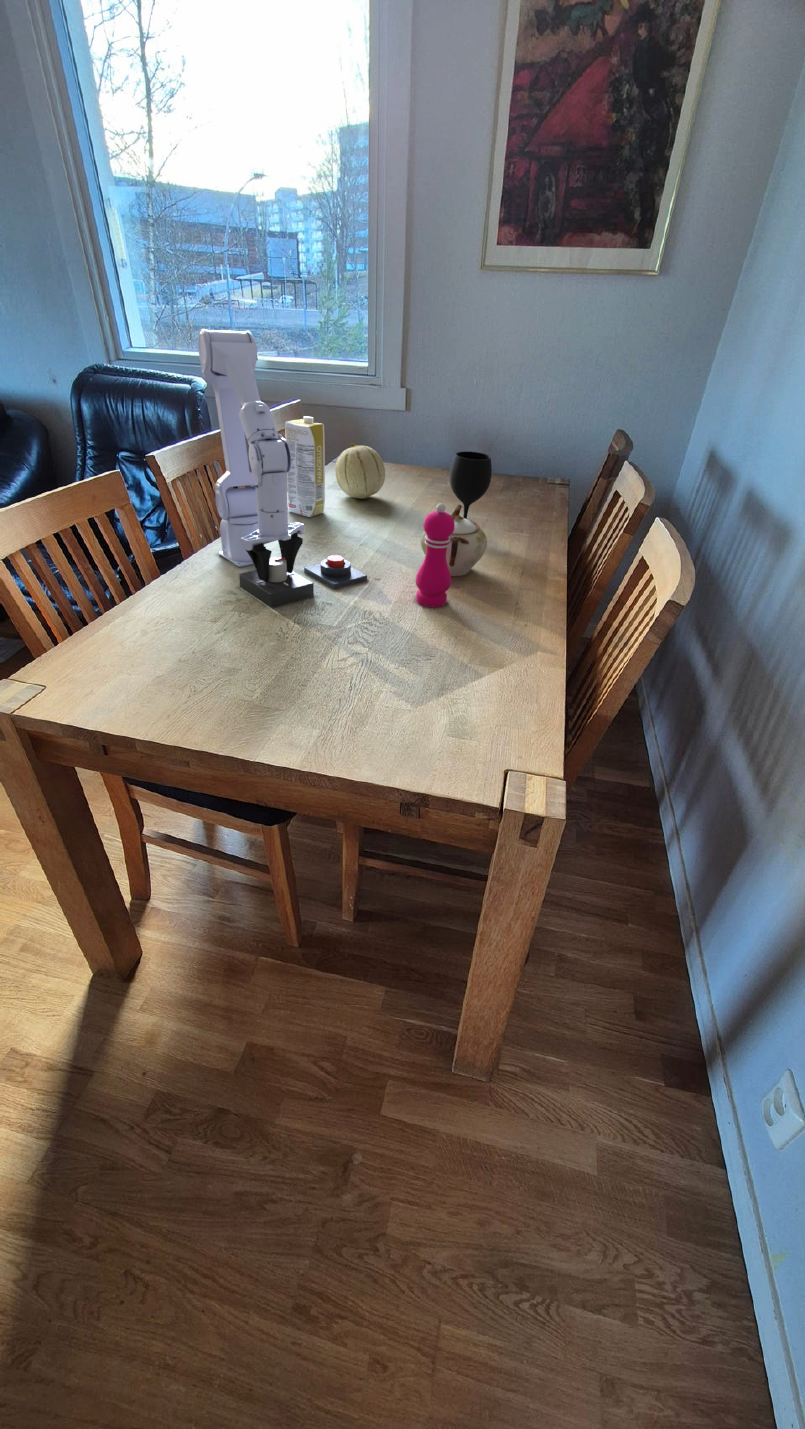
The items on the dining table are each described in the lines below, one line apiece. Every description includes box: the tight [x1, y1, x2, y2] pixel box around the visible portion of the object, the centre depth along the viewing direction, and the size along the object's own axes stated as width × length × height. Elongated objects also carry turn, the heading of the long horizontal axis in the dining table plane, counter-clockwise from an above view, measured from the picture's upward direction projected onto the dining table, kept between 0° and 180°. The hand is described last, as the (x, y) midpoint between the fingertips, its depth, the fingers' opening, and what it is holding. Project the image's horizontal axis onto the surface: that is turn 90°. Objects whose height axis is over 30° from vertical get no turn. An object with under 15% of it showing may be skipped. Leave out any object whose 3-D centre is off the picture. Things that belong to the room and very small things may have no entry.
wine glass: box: [449, 450, 493, 519], centre depth 157 cm, size 10×10×20 cm
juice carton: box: [284, 415, 326, 518], centre depth 163 cm, size 9×8×24 cm
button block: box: [303, 558, 368, 590], centre depth 134 cm, size 11×9×3 cm
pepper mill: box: [415, 503, 455, 608], centre depth 122 cm, size 7×7×20 cm
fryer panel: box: [238, 569, 315, 609], centre depth 125 cm, size 12×10×3 cm
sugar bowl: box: [420, 503, 488, 577], centre depth 139 cm, size 20×15×15 cm
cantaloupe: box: [334, 442, 386, 500], centre depth 180 cm, size 15×15×15 cm
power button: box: [326, 554, 345, 567], centre depth 133 cm, size 4×4×2 cm
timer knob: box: [269, 556, 287, 582], centre depth 123 cm, size 4×4×4 cm
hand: (275, 575), depth 124 cm, fingers open, 6 cm apart
